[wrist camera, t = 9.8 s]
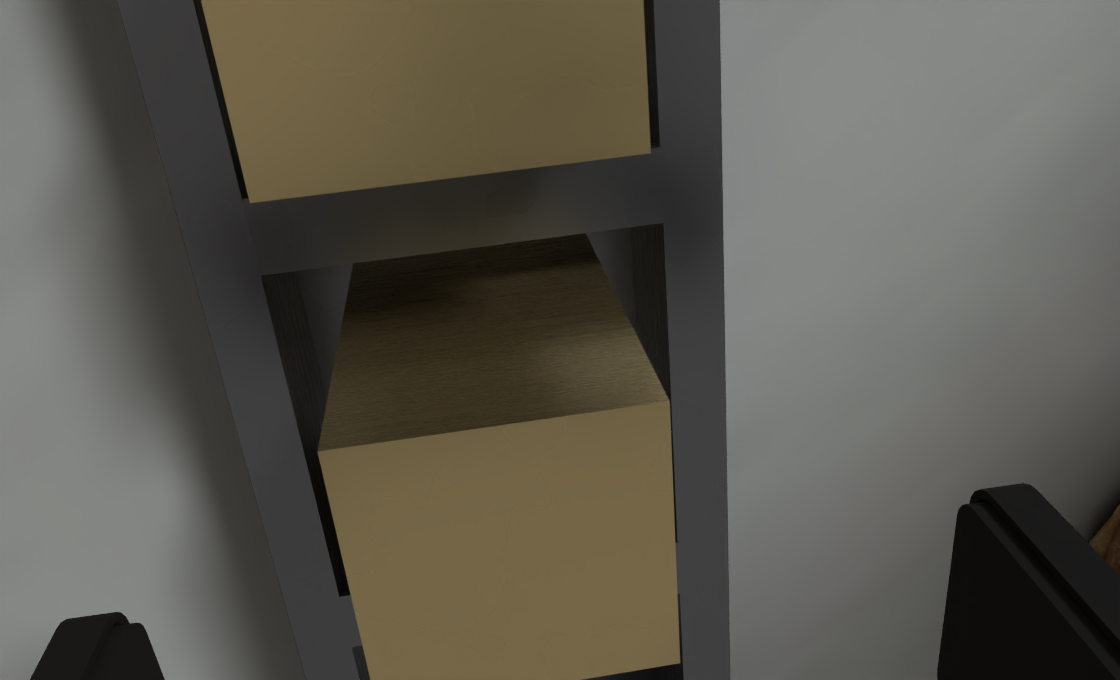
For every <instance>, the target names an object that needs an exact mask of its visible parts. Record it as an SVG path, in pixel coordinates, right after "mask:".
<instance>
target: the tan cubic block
mask: <svg viewBox="0 0 1120 680" xmlns="http://www.w3.org/2000/svg"><path fill="white" fill-rule="evenodd" d="M317 452H318V456H319V460H320V465H321V469H322V473H323V478H324V482H325V486H326V491H327V495H328V499H329V503H330V508H331V512H332V516H333V521H334V525H335V529H336V534H337V538H338V542H339V547H340V551H341V555H342V559H343V564H344V568H345V572H346V577H347V581H348V585H349V590H350V594H351V598H352V603H353V607H354V611H355V615H356V620H357V624H358V628H359V633H360V637H361V641H362V646H363V650H364V654H365V659H366V663H367V667H368V671H369V676H370V680H582V679H588V678H594V677H600V676H606V675H612V674H618V673H624V672H630V671H636V670H642V669H648V668H654V667H660V666H666V665H672V664H678V663H680V645H679V620H678V595H677V570H676V545H675V520H674V495H673V470H672V445H671V420H670V401H669V399H668V397H667V395H666V393H665V391H664V389H663V387H662V385H661V383H660V381H659V379H658V377H657V375H656V373H655V371H654V369H653V367H652V365H651V363H650V361H649V359H648V357H647V355H646V353H645V351H644V349H643V347H642V345H641V343H640V341H639V339H638V337H637V335H636V333H635V331H634V329H633V327H632V325H631V323H630V321H629V319H628V317H627V315H626V313H625V311H624V309H623V307H622V305H621V303H620V301H619V299H618V297H617V295H616V293H615V291H614V289H613V287H612V285H611V283H610V281H609V279H608V277H607V275H606V273H605V271H604V269H603V267H602V265H601V263H600V261H599V259H598V257H597V255H596V253H595V251H594V249H593V247H592V245H591V243H590V241H589V239H588V237H587V235H586V233H583V234H575V235H568V236H560V237H552V238H545V239H537V240H529V241H522V242H514V243H506V244H499V245H491V246H483V247H476V248H468V249H460V250H453V251H445V252H437V253H430V254H422V255H415V256H407V257H399V258H392V259H384V260H376V261H369V262H361V263H353V267H352V272H351V277H350V283H349V288H348V293H347V299H346V304H345V309H344V314H343V320H342V325H341V330H340V335H339V341H338V346H337V351H336V356H335V362H334V367H333V372H332V378H331V383H330V388H329V393H328V399H327V404H326V409H325V414H324V420H323V425H322V430H321V435H320V441H319V446H318V451H317Z"/></svg>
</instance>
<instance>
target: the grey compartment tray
mask: <svg viewBox="0 0 1120 680" xmlns="http://www.w3.org/2000/svg"><path fill="white" fill-rule="evenodd" d="M643 2H644V22H645V43H646V63H647V84H648V104H649V125H650V145H651V153H649V154H641V155H633V156H625V157H617V158H609V159H601V160H593V161H585V162H577V163H569V164H561V165H553V166H545V167H537V168H529V169H520V170H512V171H504V172H496V173H488V174H480V175H472V176H464V177H456V178H448V179H440V180H432V181H424V182H416V183H408V184H400V185H392V186H384V187H376V188H368V189H360V190H352V191H344V192H335V193H327V194H319V195H311V196H303V197H295V198H287V199H279V200H271V201H263V202H255V203H250V201H249V197H248V193H247V189H246V185H245V181H244V176H243V172H242V168H241V164H240V160H239V156H238V152H237V147H236V143H235V139H234V135H233V131H232V127H231V123H230V119H229V114H228V110H227V106H226V102H225V98H224V94H223V90H222V85H221V81H220V77H219V73H218V69H217V65H216V61H215V57H214V52H213V48H212V44H211V40H210V36H209V32H208V28H207V23H206V19H205V15H204V11H203V7H202V3H201V0H117V3H118V6H119V10H120V13H121V17H122V20H123V24H124V28H125V31H126V35H127V38H128V42H129V46H130V49H131V53H132V56H133V60H134V64H135V67H136V71H137V74H138V78H139V82H140V85H141V89H142V92H143V96H144V99H145V103H146V107H147V110H148V114H149V117H150V121H151V125H152V128H153V132H154V135H155V139H156V143H157V146H158V150H159V153H160V157H161V160H162V164H163V168H164V171H165V175H166V178H167V182H168V186H169V189H170V193H171V196H172V200H173V204H174V207H175V211H176V214H177V218H178V222H179V225H180V229H181V232H182V236H183V239H184V243H185V247H186V250H187V254H188V257H189V261H190V265H191V268H192V272H193V275H194V279H195V283H196V286H197V290H198V293H199V297H200V301H201V304H202V308H203V311H204V315H205V318H206V322H207V326H208V329H209V333H210V336H211V340H212V344H213V347H214V351H215V354H216V358H217V362H218V365H219V369H220V372H221V376H222V380H223V383H224V387H225V390H226V394H227V397H228V401H229V405H230V408H231V412H232V415H233V419H234V423H235V426H236V430H237V433H238V437H239V441H240V444H241V448H242V451H243V455H244V459H245V462H246V466H247V469H248V473H249V476H250V480H251V484H252V487H253V491H254V494H255V498H256V502H257V505H258V509H259V512H260V516H261V520H262V523H263V527H264V530H265V534H266V538H267V541H268V545H269V548H270V552H271V555H272V559H273V563H274V566H275V570H276V573H277V577H278V581H279V584H280V588H281V591H282V595H283V599H284V602H285V606H286V609H287V613H288V617H289V620H290V624H291V627H292V631H293V634H294V638H295V642H296V645H297V649H298V652H299V656H300V660H301V663H302V667H303V670H304V674H305V678H306V680H370V676H369V671H368V667H367V663H366V659H365V654H364V650H363V646H362V641H361V637H360V633H359V628H358V624H357V620H356V615H355V611H354V607H353V603H352V598H351V594H350V590H349V585H348V581H347V577H346V572H345V568H344V564H343V559H342V555H341V551H340V547H339V542H338V538H337V534H336V529H335V525H334V521H333V516H332V512H331V508H330V503H329V499H328V495H327V491H326V486H325V482H324V478H323V473H322V469H321V465H320V460H319V456H318V452H317V451H318V446H319V441H320V435H321V430H322V425H323V420H324V414H325V409H326V404H327V399H328V393H329V388H330V383H331V378H332V372H333V367H334V362H335V356H336V351H337V346H338V341H339V335H340V330H341V325H342V320H343V314H344V309H345V304H346V299H347V293H348V288H349V283H350V277H351V272H352V267H353V263H361V262H369V261H376V260H384V259H392V258H399V257H407V256H415V255H422V254H430V253H437V252H445V251H453V250H460V249H468V248H476V247H483V246H491V245H499V244H506V243H514V242H522V241H529V240H537V239H545V238H552V237H560V236H568V235H575V234H583V233H586V235H587V237H588V239H589V241H590V243H591V245H592V247H593V249H594V251H595V253H596V255H597V257H598V259H599V261H600V263H601V265H602V267H603V269H604V271H605V273H606V275H607V277H608V279H609V281H610V283H611V285H612V287H613V289H614V291H615V293H616V295H617V297H618V299H619V301H620V303H621V305H622V307H623V309H624V311H625V313H626V315H627V317H628V319H629V321H630V323H631V325H632V327H633V329H634V331H635V333H636V335H637V337H638V339H639V341H640V343H641V345H642V347H643V349H644V351H645V353H646V355H647V357H648V359H649V361H650V363H651V365H652V367H653V369H654V371H655V373H656V375H657V377H658V379H659V381H660V383H661V385H662V387H663V389H664V391H665V393H666V395H667V397H668V399H669V401H670V420H671V445H672V470H673V495H674V520H675V545H676V570H677V595H678V620H679V645H680V663H678V664H672V665H666V666H660V667H654V668H648V669H642V670H636V671H630V672H624V673H618V674H612V675H606V676H600V677H594V678H588V679H582V680H730V638H729V574H728V509H727V445H726V381H725V317H724V253H723V188H722V124H721V60H720V0H643Z"/></svg>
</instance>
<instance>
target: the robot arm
mask: <svg viewBox="0 0 1120 680" xmlns="http://www.w3.org/2000/svg"><path fill="white" fill-rule="evenodd" d="M937 677H938V680H1120V575H1119V574H1118V573H1117V572H1116V571H1115V570H1114V569H1113V568H1112V567H1111V566H1110V565H1109V564H1108V563H1107V562H1106V561H1105V560H1104V559H1103V558H1102V557H1101V556H1100V555H1099V554H1098V553H1097V552H1096V551H1095V550H1094V549H1093V547H1092V546H1091V545H1090V544H1089V543H1088V542H1087V541H1086V540H1085V539H1084V538H1083V537H1082V536H1081V535H1080V534H1079V533H1078V532H1077V531H1076V530H1075V529H1074V528H1073V527H1072V526H1071V525H1070V524H1069V523H1068V522H1067V521H1066V520H1065V519H1064V518H1063V517H1062V516H1061V514H1060V513H1059V512H1058V511H1057V510H1056V509H1055V508H1054V507H1053V506H1052V505H1051V504H1050V503H1049V502H1048V501H1047V500H1046V499H1045V498H1044V497H1043V496H1042V495H1041V494H1040V493H1039V492H1038V491H1037V490H1036V489H1035V488H1033V487H1032V486H1031V485H1029V484H1025V483H1022V484H1015V485H1008V486H1001V487H994V488H987V489H980V490H977V491H975V492H974V493H973V495H972V496H971V499H970V503H969V504H965V505H962V506H961V507H960V508H959V510H958V514H957V521H956V529H955V537H954V544H953V552H952V560H951V568H950V576H949V584H948V591H947V599H946V607H945V615H944V623H943V630H942V638H941V646H940V654H939V662H938V670H937ZM30 680H165V679H164V677H163V674H162V672H161V669H160V666H159V664H158V661H157V658H156V656H155V653H154V651H153V648H152V645H151V643H150V640H149V637H148V635H147V632H146V630H145V628H144V626H143V625H142V624H140V623H131V624H130V623H129V622H128V620H127V618H126V616H124V615H123V614H122V613H120V612H114V613H107V614H99V615H92V616H85V617H78V618H71V619H66V620H65V621H63V622H61V623H60V625H59V626H58V628H57V629H56V631H55V633H54V635H53V636H52V638H51V640H50V642H49V644H48V646H47V648H46V650H45V652H44V654H43V656H42V658H41V660H40V662H39V663H38V665H37V667H36V669H35V671H34V673H33V675H32V677H31V679H30Z"/></svg>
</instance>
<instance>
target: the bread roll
mask: <svg viewBox="0 0 1120 680" xmlns="http://www.w3.org/2000/svg"><path fill="white" fill-rule="evenodd" d="M1089 544H1090V545H1091V546H1092V547H1093V549H1094V550H1095V551H1096V552H1097V553H1098V554H1099V555H1100V556H1101V557H1102V558H1103V559H1104V560H1105V561H1106V562H1107V563H1108V564H1109V565H1110V566H1111V567H1112V568H1113V569H1114V570H1115V571H1116V572H1117V573H1118V574H1119V575H1120V504H1119V505H1118V507H1117V508H1116V510H1115V511H1114V514H1113V515H1112V516H1111V517H1110V518H1109V519H1108V521H1107V522H1106V523H1105V524H1104V525H1103V526H1102V528H1101V529H1100V530H1099V531H1098V532H1097V534H1096V535H1095V536H1094V537H1093V538H1092V539H1091V541H1090V542H1089Z"/></svg>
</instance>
